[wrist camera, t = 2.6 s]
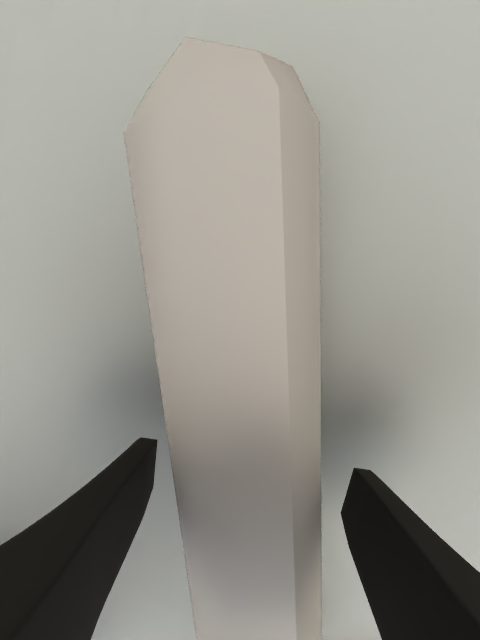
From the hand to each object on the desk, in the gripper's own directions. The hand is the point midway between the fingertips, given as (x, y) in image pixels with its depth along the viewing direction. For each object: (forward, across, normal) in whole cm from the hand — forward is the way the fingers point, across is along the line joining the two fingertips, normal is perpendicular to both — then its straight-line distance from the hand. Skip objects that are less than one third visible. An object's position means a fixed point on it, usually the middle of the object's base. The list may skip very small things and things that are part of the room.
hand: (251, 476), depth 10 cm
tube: (+2, 0, 0) cm, 3 cm away
